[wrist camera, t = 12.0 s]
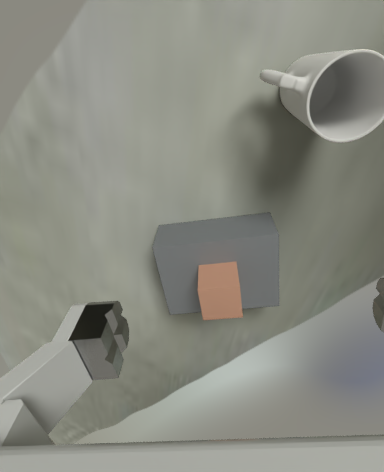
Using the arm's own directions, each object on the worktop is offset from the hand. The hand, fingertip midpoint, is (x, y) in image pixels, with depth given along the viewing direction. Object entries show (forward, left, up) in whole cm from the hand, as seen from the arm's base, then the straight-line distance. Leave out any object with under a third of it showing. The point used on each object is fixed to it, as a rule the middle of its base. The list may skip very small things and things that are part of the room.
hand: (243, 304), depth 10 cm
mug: (-9, -3, -31) cm, 33 cm away
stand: (+2, +19, -31) cm, 36 cm away
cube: (+2, +19, -25) cm, 31 cm away
